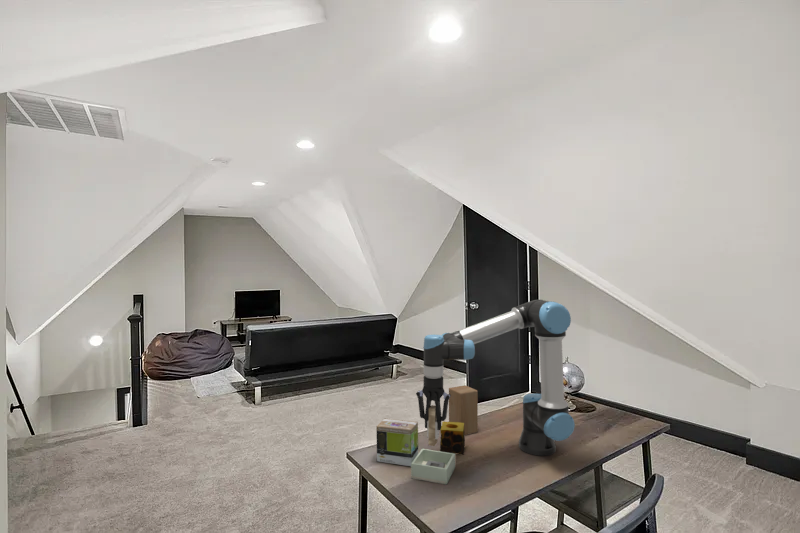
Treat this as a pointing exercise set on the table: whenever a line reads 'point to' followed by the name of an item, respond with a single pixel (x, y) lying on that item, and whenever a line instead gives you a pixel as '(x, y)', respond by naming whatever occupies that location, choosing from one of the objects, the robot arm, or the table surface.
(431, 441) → the long wooden plank
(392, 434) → the tea box
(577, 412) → the table surface
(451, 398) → the wooden block
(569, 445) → the table surface
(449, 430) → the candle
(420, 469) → the pale green square tray
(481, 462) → the table surface
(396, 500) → the table surface
